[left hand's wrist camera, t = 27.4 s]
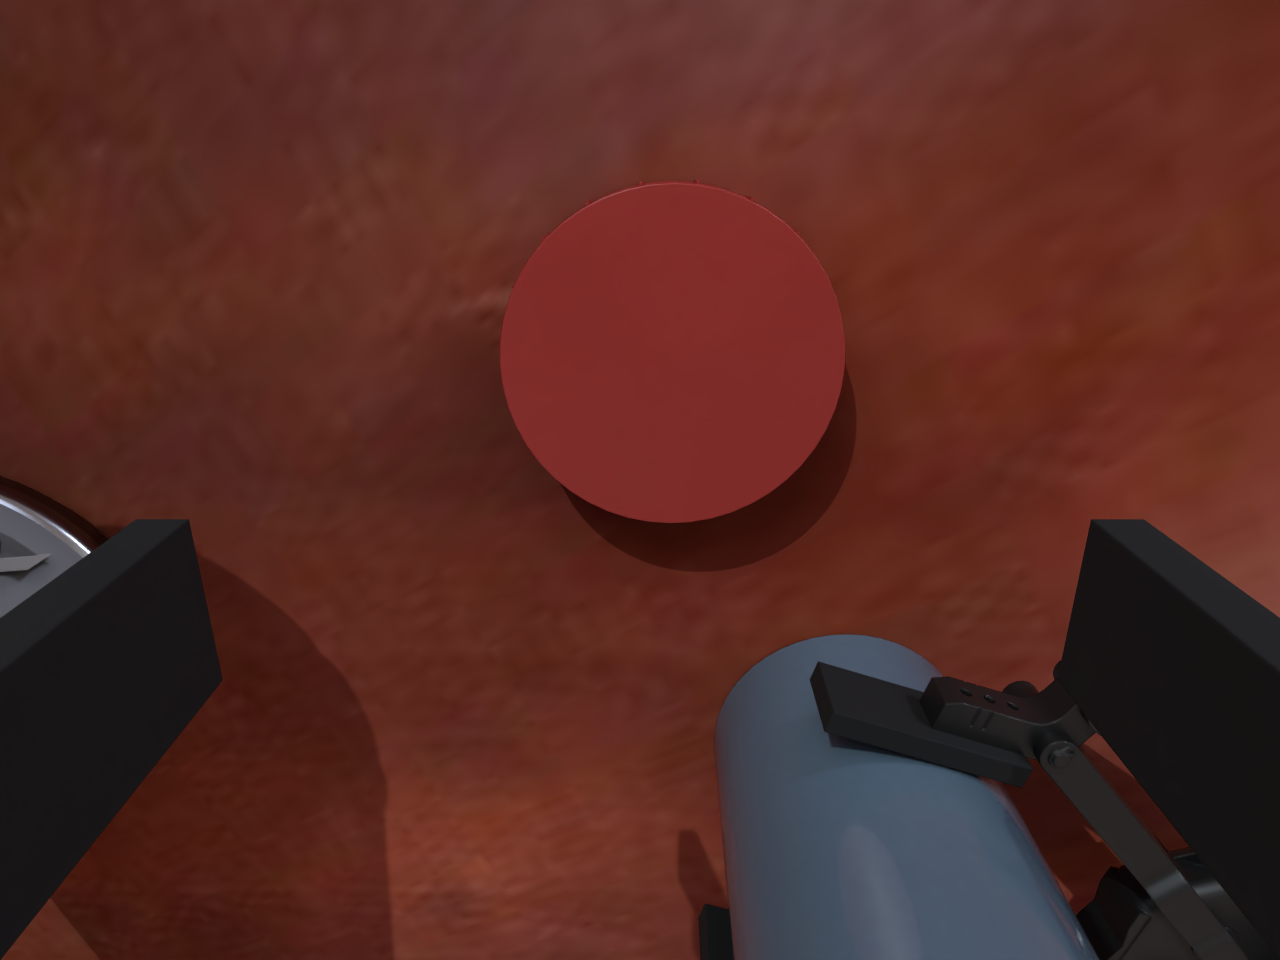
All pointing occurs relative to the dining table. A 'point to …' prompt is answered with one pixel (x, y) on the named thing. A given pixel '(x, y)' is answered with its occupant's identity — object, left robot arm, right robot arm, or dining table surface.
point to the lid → (672, 352)
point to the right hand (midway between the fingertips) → (757, 826)
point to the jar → (870, 833)
